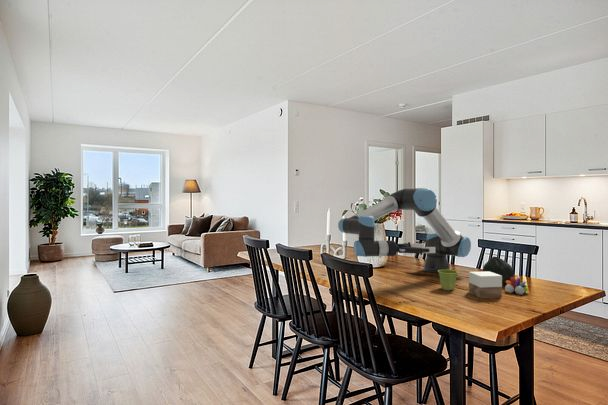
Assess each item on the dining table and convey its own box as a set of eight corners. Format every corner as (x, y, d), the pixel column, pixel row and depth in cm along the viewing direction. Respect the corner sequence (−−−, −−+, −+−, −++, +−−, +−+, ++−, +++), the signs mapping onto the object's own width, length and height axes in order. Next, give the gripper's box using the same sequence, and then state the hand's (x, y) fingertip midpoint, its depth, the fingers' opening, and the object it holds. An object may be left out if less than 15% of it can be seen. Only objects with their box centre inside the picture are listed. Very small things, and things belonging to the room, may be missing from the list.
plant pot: (456, 292, 179) (456, 274, 179) (435, 289, 184) (435, 272, 184) (460, 288, 187) (460, 270, 187) (440, 285, 192) (440, 268, 192)
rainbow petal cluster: (508, 289, 185) (508, 274, 185) (530, 293, 178) (530, 277, 178) (502, 292, 179) (502, 277, 179) (525, 296, 172) (525, 280, 172)
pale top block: (468, 282, 179) (468, 271, 179) (489, 281, 180) (489, 271, 180) (480, 287, 169) (480, 276, 169) (502, 286, 170) (502, 275, 170)
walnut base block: (468, 292, 179) (468, 282, 179) (489, 292, 180) (489, 282, 180) (480, 298, 169) (480, 287, 169) (501, 298, 170) (501, 286, 170)
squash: (515, 271, 202) (495, 249, 204) (523, 278, 187) (501, 255, 189) (493, 287, 205) (473, 266, 207) (499, 295, 191) (477, 272, 193)
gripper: (379, 252, 195) (419, 252, 197) (394, 260, 170) (440, 260, 172) (379, 237, 195) (419, 237, 197) (394, 243, 170) (440, 243, 172)
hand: (429, 248), depth 185 cm, fingers open, 13 cm apart
